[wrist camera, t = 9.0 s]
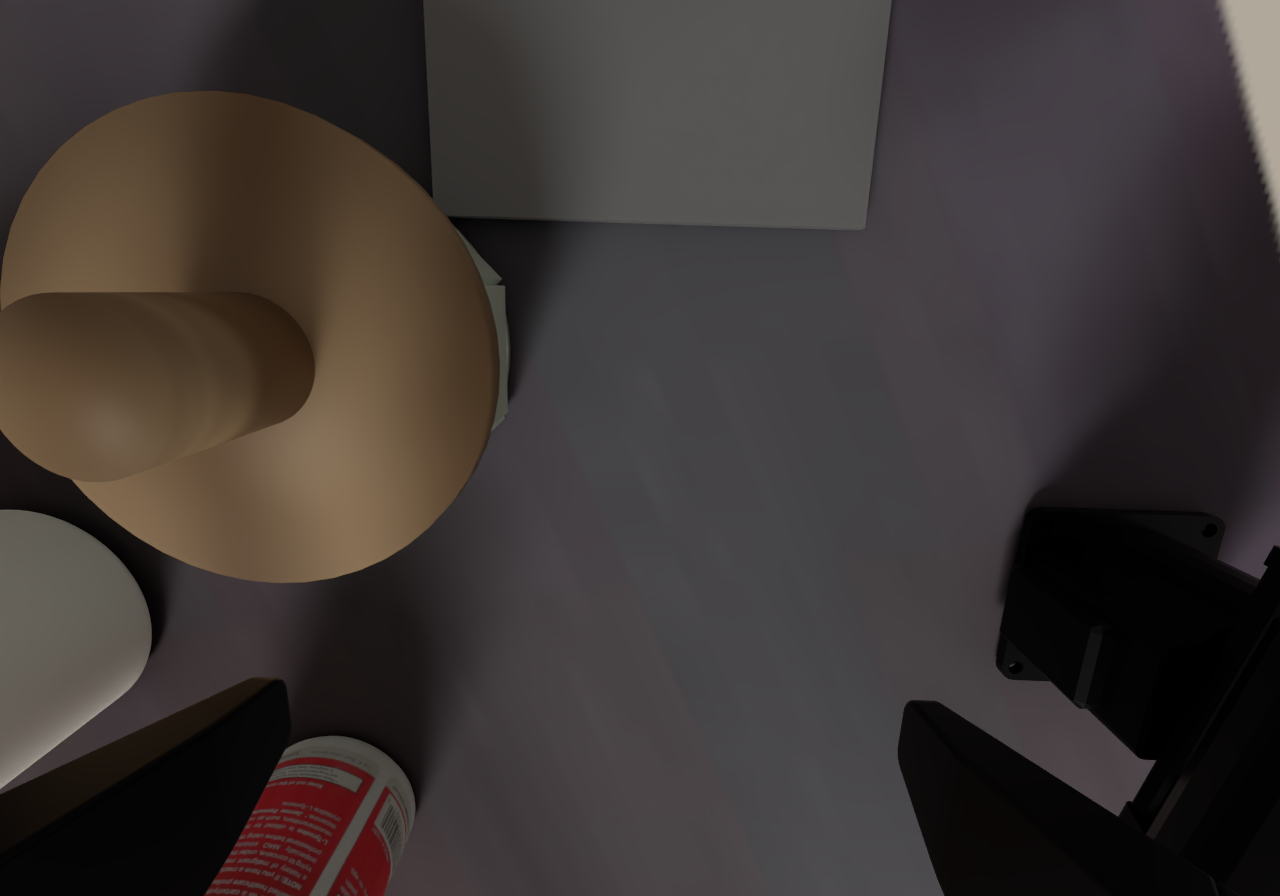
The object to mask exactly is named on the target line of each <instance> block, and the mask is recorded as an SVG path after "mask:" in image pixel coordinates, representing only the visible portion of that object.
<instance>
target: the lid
mask: <svg viewBox="0 0 1280 896" xmlns="http://www.w3.org/2000/svg"><path fill="white" fill-rule="evenodd" d="M0 301H1V311H0V430H1V431H2V432H3V434H4V435H5V436H6V437H7V438H8V440H9V441H10V442H11V443H12V444H13V445H14V446H15V447H16V448H17V449H18V450H19V451H21V452H22V453H23V454H24V455H25V456H27V457H28V458H29V459H31V460H32V461H33V462H35V463H36V464H38V465H40V466H42V467H43V468H45V469H47V470H49V471H51V472H53V473H56V474H58V475H61V476H64V477H67V478H70V479H71V480H72V481H73V482H74V483H75V484H76V485H77V486H78V487H79V488H80V490H81V491H82V492H83V493H84V494H85V495H86V496H87V497H88V498H89V499H90V500H91V501H92V502H93V503H95V504H96V505H97V506H98V507H99V508H100V509H101V510H102V511H103V512H104V513H105V514H107V515H108V516H109V517H110V518H111V519H113V520H114V521H115V522H117V523H118V524H119V525H121V526H122V527H123V528H125V529H126V530H128V531H129V532H130V533H132V534H133V535H134V536H136V537H137V538H139V539H141V540H143V541H144V542H146V543H148V544H149V545H151V546H153V547H155V548H156V549H158V550H160V551H161V552H163V553H165V554H168V555H170V556H172V557H174V558H177V559H179V560H181V561H183V562H185V563H188V564H190V565H193V566H196V567H199V568H202V569H205V570H208V571H211V572H214V573H217V574H220V575H225V576H230V577H235V578H240V579H244V580H250V581H261V582H272V583H293V582H310V581H316V580H323V579H329V578H335V577H338V576H342V575H345V574H349V573H352V572H355V571H359V570H362V569H364V568H366V567H368V566H371V565H373V564H375V563H377V562H380V561H382V560H384V559H386V558H388V557H389V556H391V555H393V554H394V553H396V552H397V551H399V550H401V549H402V548H404V547H405V546H407V545H409V544H410V543H411V542H412V541H413V540H415V539H416V538H417V537H418V536H419V535H421V534H422V533H423V532H424V531H425V530H427V529H428V528H429V527H430V526H431V525H432V524H433V523H434V522H435V521H436V519H437V518H438V517H439V516H440V515H441V514H442V513H443V512H444V511H445V510H446V509H447V507H448V506H449V505H450V504H451V503H452V502H453V501H454V500H455V499H456V497H457V496H458V495H459V494H460V493H461V491H462V490H463V488H464V487H465V485H466V484H467V482H468V481H469V479H470V478H471V476H472V475H473V473H474V471H475V469H476V467H477V465H478V463H479V461H480V459H481V457H482V455H483V453H484V451H485V448H486V446H487V443H488V439H489V436H490V433H491V430H492V427H493V424H494V420H495V414H496V408H497V402H498V397H499V382H500V357H499V346H498V336H497V330H496V325H495V321H494V316H493V312H492V308H491V303H490V300H489V297H488V295H487V292H486V289H485V286H484V283H483V281H482V278H481V275H480V272H479V270H478V268H477V266H476V264H475V262H474V260H473V258H472V256H471V254H470V252H469V250H468V248H467V246H466V244H465V242H464V241H463V239H462V238H461V236H460V235H459V233H458V232H457V230H456V229H455V227H454V226H453V224H452V223H451V221H450V220H449V218H448V217H447V215H446V214H445V213H444V212H443V210H442V209H441V208H440V207H439V206H438V205H437V203H436V202H435V201H434V200H433V199H432V198H431V196H430V195H429V194H428V193H427V192H426V190H425V189H424V188H423V187H422V186H421V185H420V184H418V183H417V182H416V181H415V180H414V179H413V178H412V177H411V176H410V175H409V174H408V173H407V172H405V171H404V170H403V169H402V168H401V167H400V166H399V165H398V164H396V163H395V162H394V161H392V160H391V159H389V158H388V157H387V156H385V155H384V154H382V153H381V152H380V151H378V150H377V149H376V148H374V147H373V146H371V145H370V144H368V143H366V142H365V141H363V140H361V139H359V138H357V137H355V136H353V135H352V134H350V133H348V132H346V131H344V130H342V129H341V128H339V127H337V126H335V125H333V124H331V123H329V122H327V121H326V120H324V119H322V118H320V117H318V116H316V115H313V114H311V113H308V112H306V111H303V110H300V109H298V108H295V107H293V106H290V105H288V104H285V103H282V102H278V101H274V100H270V99H266V98H262V97H258V96H254V95H249V94H243V93H233V92H222V91H212V90H210V91H190V92H175V93H170V94H165V95H160V96H155V97H151V98H146V99H142V100H140V101H137V102H134V103H132V104H129V105H126V106H124V107H121V108H118V109H116V110H113V111H111V112H109V113H108V114H106V115H104V116H103V117H101V118H99V119H97V120H96V121H94V122H92V123H90V124H89V125H87V126H85V127H84V128H83V129H81V130H80V131H79V132H78V133H77V134H75V135H74V136H73V137H72V138H71V139H69V140H68V141H67V142H66V143H65V144H63V145H62V146H61V147H60V148H59V149H58V150H57V151H56V153H55V154H54V155H53V156H52V157H51V158H50V159H49V161H48V162H47V163H46V164H45V165H44V166H43V167H42V169H41V170H40V171H39V173H38V174H37V176H36V177H35V179H34V181H33V182H32V184H31V186H30V187H29V189H28V190H27V192H26V194H25V195H24V197H23V199H22V201H21V204H20V206H19V209H18V211H17V213H16V216H15V218H14V221H13V223H12V225H11V229H10V233H9V237H8V241H7V245H6V249H5V253H4V257H3V265H2V276H1V286H0Z"/></svg>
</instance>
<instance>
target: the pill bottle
mask: <svg viewBox="0 0 1280 896" xmlns="http://www.w3.org/2000/svg"><path fill="white" fill-rule="evenodd" d="M414 818H415V799H414V794H413V790H412V787H411V785H410V782H409V780H408V779H407V777H406V775H405V773H404V772H403V771H402V769H401V768H400V767H399V766H398V765H397V764H396V763H395V762H394V761H393V760H392V759H391V758H390V757H389V756H387V755H386V754H385V753H383V752H382V751H380V750H379V749H377V748H376V747H374V746H372V745H370V744H368V743H365V742H363V741H360V740H357V739H354V738H350V737H344V736H323V737H316V738H311V739H307V740H304V741H301V742H298V743H296V744H294V745H292V746H290V747H288V748H287V749H285V751H284V753H283V755H282V757H281V759H280V761H279V762H278V764H277V766H276V768H275V770H274V772H273V774H272V776H271V778H270V780H269V782H268V784H267V786H266V788H265V789H264V791H263V793H262V795H261V797H260V799H259V801H258V803H257V805H256V807H255V809H254V811H253V813H252V815H251V816H250V818H249V820H248V822H247V824H246V826H245V828H244V830H243V832H242V834H241V836H240V837H239V839H238V841H237V843H236V845H235V846H234V848H233V850H232V852H231V853H230V855H229V857H228V858H227V860H226V862H225V863H224V865H223V867H222V868H221V870H220V872H219V873H218V875H217V876H216V878H215V879H214V881H213V883H212V884H211V886H210V887H209V889H208V890H207V892H206V894H205V895H204V896H383V895H384V893H385V891H386V888H387V886H388V884H389V881H390V879H391V877H392V875H393V872H394V870H395V868H396V866H397V863H398V861H399V858H400V856H401V854H402V851H403V849H404V847H405V844H406V842H407V839H408V837H409V834H410V832H411V829H412V826H413V822H414Z"/></svg>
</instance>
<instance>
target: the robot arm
mask: <svg viewBox="0 0 1280 896" xmlns="http://www.w3.org/2000/svg"><path fill="white" fill-rule="evenodd" d="M1044 518H1046V523H1045V524H1044V525H1043V526H1042V527H1039V523H1040V521H1041V520H1042V519H1044ZM1206 525H1207V527H1206V529H1205V530H1204V531H1203V532H1202V529H1203V528H1204V526H1206ZM1224 531H1225V525H1224V522H1223V521H1222V520H1221V519H1220V518H1218V517H1216V516H1213V515H1211V514H1208V513H1203V512H1176V511H1147V510H1118V509H1088V508H1059V507H1038V508H1034V509H1033V510H1031V511H1030V512H1029V513H1028V514H1027V515H1026V517H1025V519H1024V524H1023V529H1022V534H1021V539H1020V544H1019V549H1018V554H1017V559H1016V564H1015V567H1014V568H1013V570H1012V573H1011V578H1010V583H1009V588H1008V593H1007V598H1006V603H1005V608H1004V613H1003V618H1002V623H1001V628H1000V632H1001V638H1000V643H999V648H998V653H997V658H996V666H997V668H998V670H999V671H1000V672H1001V673H1002V674H1003V675H1004V676H1005V677H1007V678H1008V679H1012V680H1031V681H1051V682H1052V683H1053V684H1054V685H1055V686H1056V687H1057V688H1058V689H1059V690H1060V691H1061V692H1062V693H1063V694H1064V695H1065V696H1066V697H1067V698H1068V699H1069V700H1070V701H1071V702H1072V703H1073V704H1074V705H1075V706H1076V707H1078V708H1080V709H1088V710H1089V711H1090V712H1091V713H1092V714H1093V715H1094V716H1095V717H1096V718H1097V719H1098V720H1099V721H1100V722H1101V723H1102V724H1103V725H1105V726H1106V727H1107V728H1108V729H1109V730H1110V731H1111V732H1112V733H1113V734H1114V735H1115V736H1116V737H1117V738H1118V739H1119V740H1120V741H1121V742H1122V743H1123V744H1124V745H1126V746H1127V747H1128V748H1129V749H1130V750H1131V751H1132V752H1133V753H1134V754H1135V755H1136V756H1137V757H1138V758H1140V759H1144V760H1156V762H1155V763H1154V765H1153V767H1152V769H1151V770H1150V772H1149V774H1148V776H1147V777H1146V779H1145V781H1144V782H1143V784H1142V786H1141V788H1140V789H1139V791H1138V793H1137V795H1136V796H1135V798H1134V800H1133V802H1131V801H1127V802H1126V804H1125V806H1124V808H1123V809H1122V811H1121V813H1120V815H1119V816H1118V817H1117V816H1116V815H1114V814H1113V813H1111V812H1110V811H1108V810H1107V809H1105V808H1103V807H1102V806H1100V805H1099V804H1097V803H1096V802H1094V801H1092V800H1091V799H1089V798H1088V797H1086V796H1085V795H1083V794H1082V793H1080V792H1078V791H1077V790H1075V789H1074V788H1072V787H1071V786H1069V785H1067V784H1066V783H1064V782H1063V781H1061V780H1060V779H1058V778H1057V777H1055V776H1053V775H1052V774H1050V773H1049V772H1047V771H1046V770H1044V769H1042V768H1041V767H1039V766H1038V765H1036V764H1035V763H1033V762H1031V761H1030V760H1028V759H1027V758H1025V757H1024V756H1022V755H1021V754H1019V753H1017V752H1016V751H1014V750H1013V749H1011V748H1010V747H1008V746H1006V745H1005V744H1003V743H1002V742H1000V741H999V740H997V739H996V738H994V737H992V736H991V735H989V734H988V733H986V732H985V731H983V730H981V729H980V728H978V727H977V726H975V725H974V724H972V723H971V722H969V721H967V720H966V719H964V718H963V717H961V716H960V715H958V714H956V713H955V712H953V711H952V710H950V709H949V708H947V707H946V706H944V705H942V704H941V703H939V702H936V701H922V700H911V701H909V702H908V703H907V704H906V706H905V708H904V712H903V718H902V725H901V731H900V737H899V743H898V761H899V766H900V769H901V772H902V775H903V778H904V781H905V784H906V787H907V790H908V793H909V796H910V799H911V802H912V805H913V808H914V811H915V814H916V817H917V820H918V823H919V826H920V829H921V832H922V836H923V839H924V842H925V845H926V848H927V851H928V854H929V857H930V860H931V862H932V865H933V868H934V871H935V874H936V876H937V879H938V881H939V884H940V886H941V889H942V891H943V893H944V896H1280V547H1279V546H1275V545H1274V546H1273V548H1272V550H1271V552H1270V553H1269V555H1268V557H1267V559H1266V560H1265V562H1264V565H1266V566H1268V568H1267V569H1266V571H1265V573H1264V575H1263V576H1262V578H1261V580H1260V579H1258V578H1256V577H1254V576H1251V575H1249V574H1247V573H1245V572H1243V571H1241V570H1239V569H1237V568H1234V567H1232V566H1230V565H1228V564H1226V563H1224V562H1222V561H1220V560H1217V555H1218V552H1219V549H1220V545H1221V542H1222V538H1223V535H1224ZM1013 662H1016V664H1015V665H1014V666H1012V667H1009V666H1010V664H1012V663H1013ZM290 736H291V717H290V710H289V702H288V695H287V688H286V684H285V683H284V681H283V680H282V679H280V678H269V677H253V678H250V679H247V680H245V681H243V682H241V683H239V684H237V685H234V686H232V687H230V688H228V689H226V690H224V691H221V692H219V693H217V694H215V695H213V696H211V697H209V698H206V699H204V700H202V701H200V702H198V703H196V704H194V705H191V706H189V707H187V708H185V709H183V710H181V711H178V712H176V713H174V714H172V715H170V716H168V717H166V718H163V719H161V720H159V721H157V722H155V723H153V724H151V725H148V726H146V727H144V728H142V729H140V730H138V731H135V732H133V733H131V734H129V735H127V736H125V737H123V738H120V739H118V740H116V741H114V742H112V743H110V744H108V745H105V746H103V747H101V748H99V749H97V750H95V751H92V752H90V753H88V754H86V755H84V756H82V757H80V758H77V759H75V760H73V761H71V762H69V763H67V764H65V765H62V766H60V767H58V768H56V769H54V770H52V771H49V772H47V773H45V774H43V775H41V776H39V777H37V778H34V779H32V780H30V781H28V782H26V783H24V784H22V785H19V786H17V787H15V788H13V789H11V790H9V791H6V792H4V793H2V794H0V896H204V895H205V894H206V892H207V890H208V889H209V887H210V886H211V884H212V883H213V881H214V879H215V878H216V876H217V875H218V873H219V872H220V870H221V868H222V867H223V865H224V863H225V862H226V860H227V858H228V857H229V855H230V853H231V852H232V850H233V848H234V846H235V845H236V843H237V841H238V839H239V837H240V836H241V834H242V832H243V830H244V828H245V826H246V824H247V822H248V820H249V818H250V816H251V815H252V813H253V811H254V809H255V807H256V805H257V803H258V801H259V799H260V797H261V795H262V793H263V791H264V789H265V788H266V786H267V784H268V782H269V780H270V778H271V776H272V774H273V772H274V770H275V768H276V766H277V764H278V762H279V761H280V759H281V757H282V755H283V753H284V751H285V749H286V747H287V745H288V742H289V739H290Z"/></svg>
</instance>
